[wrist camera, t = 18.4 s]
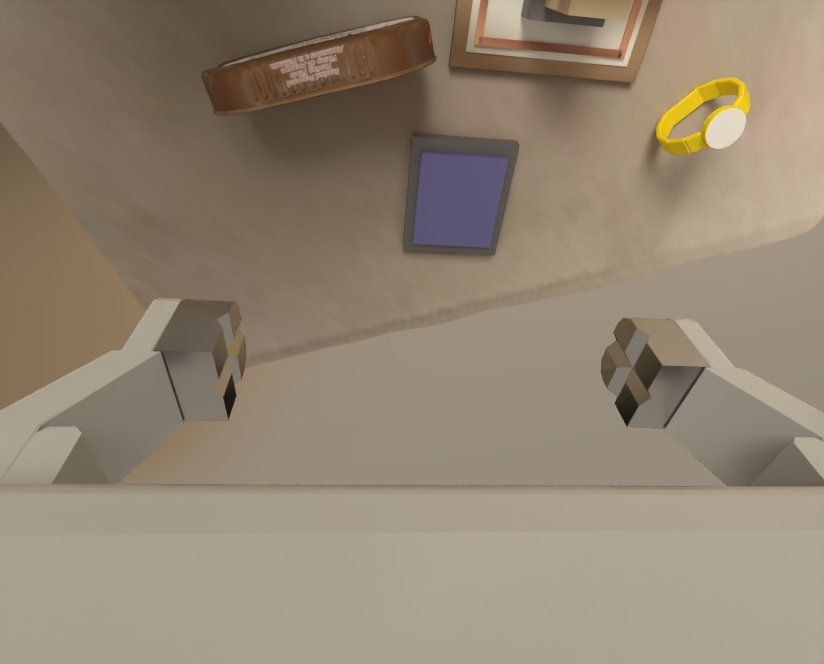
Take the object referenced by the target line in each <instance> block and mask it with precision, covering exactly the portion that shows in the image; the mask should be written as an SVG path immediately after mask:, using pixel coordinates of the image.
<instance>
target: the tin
mask: <svg viewBox="0 0 824 664" xmlns="http://www.w3.org/2000/svg"><path fill="white" fill-rule="evenodd" d="M435 61H436V56H435V55H434V50H433V44H432V37H431V30H430V25H429V21H428V20H427V19H423V18H421V17H418V16H409V17H404V18H399V19H394V20H390V21H385V22H381V23H377V24H372V25H368V26H364V27H360V28H355V29H351V30H347V31H342V32H338V33H333V34H329V35H325V36H320V37H316V38H312V39H308V40H304V41H300V42H297V43H293V44H289V45H285V46H281V47H278V48H274V49H271V50H267V51H263V52H259V53H256V54H252V55H248V56H245V57H241V58H238V59H235V60H231V61H228V62H225V63H223V64H220V65H219V66H218V67H216V68H214V69H210V70H206V71H204V72H202V75H201V76H202V80H203V83H204V85H205V88H206V90H207V93H208V95H209V97H210V100H211V102H212V105H213V107H214V114H215V115H217V116H228V115H236V114H242V113H247V112H253V111H256V110H261V109H266V108H269V107H274V106H278V105H283V104H286V103H291V102H296V101H300V100H303V99H308V98H312V97H316V96H321V95H325V94H329V93H333V92H338V91H342V90H346V89H350V88H355V87H359V86H363V85H368V84H372V83H377V82H381V81H385V80H388V79H392V78H395V77H398V76H402V75H405V74H408V73H411V72H414V71H417V70H420V69H422V68H425V67H427V66H428V65H431V64H432V63H434V62H435Z"/></svg>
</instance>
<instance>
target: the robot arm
mask: <svg viewBox="0 0 824 664" xmlns="http://www.w3.org/2000/svg"><path fill="white" fill-rule="evenodd" d="M240 321H241V315H240V311H239V306H238V305H237V303H236V302H227V301H211V300H194V299H174V298H157V299H155V300H153V301H152V303H151V304H150V306H149V307H148V309H147V310H146V312H145V314H144V315H143V317H142V318H141V320H140V321H139V323H138V324H137V326H136V328H135V329H134V331H133V332H132V334H131V335H130V337H129V338H128V340H127V342H126V343H125V345H124V346H123V348H122V349H121V350H112V351H110V352H108V353H107V354H105V355H103V356H101V357H99V358H97V359H95V360H93V361H92V362H90V363H88V364H86V365H84V366H82V367H80V368H78V369H77V370H75V371H73V372H71V373H69V374H67V375H66V376H64V377H62V378H60V379H58V380H56V381H54V382H52V383H51V384H49V385H47V386H45V387H43V388H41V389H40V390H38V391H36V392H34V393H32V394H30V395H28V396H27V397H25V398H23V399H21V400H19V401H17V402H16V403H14V404H12V405H10V406H8V407H6V408H4V409H3V410H1V411H0V664H824V413H822V412H820V411H819V410H817V409H815V408H813V407H811V406H809V405H808V404H806V403H804V402H802V401H800V400H799V399H797V398H795V397H793V396H791V395H790V394H788V393H786V392H784V391H782V390H780V389H779V388H777V387H775V386H773V385H771V384H770V383H768V382H766V381H764V380H763V379H761V378H759V377H757V376H755V375H753V374H752V373H750V372H748V371H746V370H744V369H738V368H735V367H734V365H733V364H732V363H731V362H730V361H729V360H728V359H727V357H726V356H725V355H724V354H723V353H722V351H721V350H720V349H719V348H718V347H717V345H716V344H715V343H714V342H713V341H712V339H711V338H710V337H709V336H708V335H707V334H706V333H705V331H704V330H703V329H702V328H701V327H700V325H699V324H698V323H697V322H695V321H693V320H691V319H641V318H640V319H639V318H623V319H622V320H621V321H620V322H619V323H618V324H617V326H616V328H615V330H614V332H613V333H614V335H615V338H616V341H615V342H613V343H612V344H611V345H609V346H608V347H607V348H606V350H605V352H604V355H603V357H602V360H601V374H602V379H603V381H604V383H605V385H606V388H607V389H608V390H610V391H611V392H612V393H614V394H615V395H617V399H616V401H615V405H616V407H617V409H618V411H619V413H620V415H621V417H622V419H623V420H624V422H625V424H626V426H627V427H638V428H662V429H665V432H667V433H668V434H669V435H670V436H671V437H672V438H673V439H674V440H676V441H677V442H678V443H679V444H680V445H681V446H682V447H684V448H685V449H686V450H687V451H688V452H689V453H690V454H692V455H693V456H694V457H695V458H696V459H697V460H699V461H700V462H701V463H702V464H703V465H704V466H705V467H706V468H708V469H709V470H710V471H711V472H712V473H713V474H714V475H715V476H717V477H718V478H719V479H720V480H721V481H722V482H723V483H725V484H726V485H727V486H537V485H536V486H535V485H533V486H531V485H530V486H528V485H527V486H525V485H516V486H514V485H509V486H508V485H217V484H214V485H213V484H210V485H209V484H208V485H207V484H205V485H203V484H202V485H201V484H199V485H197V484H196V485H195V484H190V485H189V484H183V485H182V484H118V483H119V482H120V481H121V480H122V479H123V478H124V477H125V476H126V475H128V474H129V473H130V472H131V471H132V470H133V469H134V468H135V467H136V466H138V465H139V464H140V463H141V462H142V461H143V460H144V459H145V458H146V457H147V456H149V455H150V454H151V453H152V452H153V451H154V450H155V449H156V448H157V447H158V446H159V445H161V444H162V443H163V442H164V441H165V440H166V439H167V438H168V437H169V436H170V435H172V434H173V433H174V432H175V431H176V430H177V429H178V428H179V427H180V426H181V425H182V424H183V423H184V422H183V421H228V420H229V417H230V414H231V410H232V408H233V405H234V402H235V398H236V391H235V387H234V385H235V384H236V383H237V382H239V381H240V380H242V376H243V373H244V369H245V361H246V344H245V338H244V335H243V334H242V333H241V332H240V331H239V330H238V327H239V324H240Z"/></svg>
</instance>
